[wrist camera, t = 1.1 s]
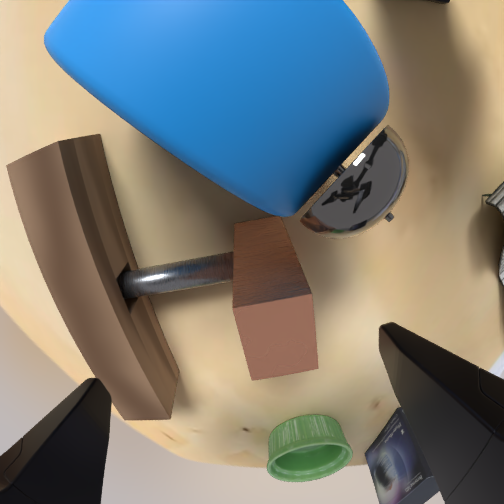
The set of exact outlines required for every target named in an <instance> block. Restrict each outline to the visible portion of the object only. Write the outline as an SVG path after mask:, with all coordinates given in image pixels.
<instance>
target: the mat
mask: <svg viewBox="0 0 504 504" xmlns="http://www.w3.org/2000/svg"><path fill="white" fill-rule="evenodd" d="M482 196H488V198H487V199H486V201H485V202H486V204H489V205H491V206H494V207H496V208H497V209H498V211H499V212H500V213H501V215H502V217H503V220H504V182H503V183H502V184H501V185H500V186H499V187H498V188H497V189H496V190H495V191H494V192H493V193H492V194H485V195H482ZM498 266H499V279H500V282H501V284H502V285H503V287H504V245H503V248H502V252H501V256H500V260H499V264H498Z"/></svg>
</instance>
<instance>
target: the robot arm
mask: <svg viewBox="0 0 504 504" xmlns="http://www.w3.org/2000/svg"><path fill="white" fill-rule="evenodd" d="M427 1H432V2H437V3H442V4H446V3H449V2H450V0H427ZM379 351H380V354H381V357H382V360H383V362H384V365H385V368H386V370H387V373H388V376H389V379H390V382H391V384H392V387H393V390H394V393H395V395H396V397H397V399H398V401H399V403H400V405H401V407H402V409H403V411H404V413H405V415H406V418H407V420H408V422H409V424H410V426H411V428H412V430H413V432H414V434H415V436H416V439H417V441H418V443H419V445H420V447H421V449H422V452H423V454H424V456H425V458H426V460H427V463H428V465H429V467H430V469H431V472H432V474H433V476H434V478H435V481H436V483H437V485H438V488H439V490H440V492H441V495H442V497H443V500H444V501H445V504H504V379H502V378H500V377H498V376H496V375H494V374H492V373H490V372H488V371H486V370H484V369H482V368H479V367H478V366H476V365H474V364H472V363H470V362H468V361H467V360H465V359H463V358H461V357H459V356H457V355H455V354H453V353H451V352H449V351H447V350H446V349H444V348H442V347H440V346H438V345H436V344H434V343H432V342H430V341H428V340H426V339H424V338H423V337H421V336H419V335H417V334H415V333H413V332H411V331H409V330H407V329H405V328H403V327H402V326H400V325H398V324H396V323H394V322H389V323H386V324H383V325H381V326H380V327H379ZM111 404H112V398H111V395H110V393H109V391H108V390H107V389H106V387H105V386H104V384H103V383H102V381H101V380H100V379H99V378H88V379H87V380H85V381H84V382H83V383H82V384H81V385H80V386H79V387H78V388H76V389H75V390H74V391H73V392H72V393H71V394H70V395H69V396H67V398H65V399H64V400H63V401H62V402H61V403H60V404H59V405H58V406H57V407H55V408H54V409H53V410H52V411H51V412H50V413H49V414H47V415H46V416H45V417H44V418H43V419H42V420H41V421H40V422H38V424H36V425H35V426H34V427H33V428H32V429H31V430H30V431H29V432H28V433H26V434H25V435H24V436H23V438H21V439H20V440H19V441H18V442H16V443H15V444H14V445H13V446H12V447H11V448H10V449H8V450H7V451H6V452H5V453H3V454H2V455H1V456H0V504H101V495H102V486H103V478H104V470H105V463H106V455H107V449H108V442H109V433H110V416H111Z"/></svg>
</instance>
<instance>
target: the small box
mask: <svg viewBox="0 0 504 504" xmlns="http://www.w3.org/2000/svg"><path fill="white" fill-rule="evenodd" d="M365 456H366V459H367V463H368V466H369V469H370V472H371V476H372V479H373V483H374V486H375V490H376V493H377V497H378V500H379V504H424V503H425V502H426V501H428V500H429V499H430V498H431V497H432V496H434V495H435V494H436V493H438V491H440V490H439V488H438V485H437V483H436V481H435V478H434V476H433V474H432V472H431V469H430V467H429V465H428V463H427V460H426V458H425V456H424V454H423V452H422V449H421V447H420V445H419V443H418V441H417V439H416V436H415V434H414V432H413V430H412V428H411V426H410V424H409V422H408V420H407V418H406V415H405V413H404V411H403V409H402V407H400V408H398V409H397V410H396V411H395V413H394V414H393V416H392V417H391V419H390V420H389V422H388V423H387V425H386V426H385V427H384V429H383V430H382V432H381V433H380V434H379V436H378V437H377V438H376V440H375V441H374V442H373V444H372V445H371V446H370V448H369V449H368V450H367V451H366V453H365Z"/></svg>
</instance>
